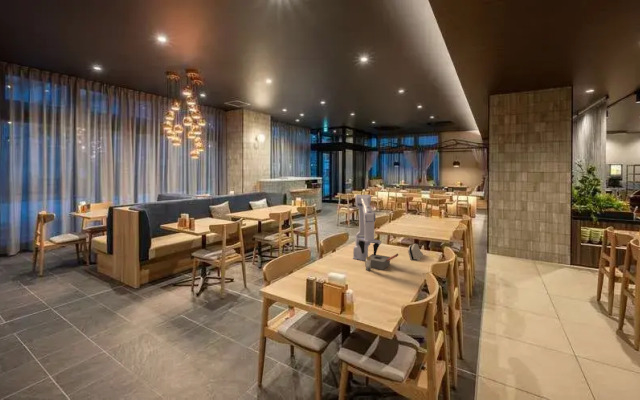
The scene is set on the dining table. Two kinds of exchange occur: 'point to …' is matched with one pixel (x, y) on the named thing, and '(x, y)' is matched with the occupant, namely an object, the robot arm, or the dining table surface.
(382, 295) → the dining table surface
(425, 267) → the dining table surface
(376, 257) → the pin block
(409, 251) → the hinge
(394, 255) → the bar
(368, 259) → the pin
